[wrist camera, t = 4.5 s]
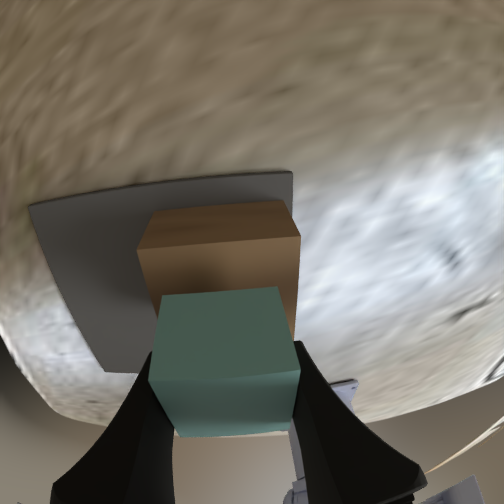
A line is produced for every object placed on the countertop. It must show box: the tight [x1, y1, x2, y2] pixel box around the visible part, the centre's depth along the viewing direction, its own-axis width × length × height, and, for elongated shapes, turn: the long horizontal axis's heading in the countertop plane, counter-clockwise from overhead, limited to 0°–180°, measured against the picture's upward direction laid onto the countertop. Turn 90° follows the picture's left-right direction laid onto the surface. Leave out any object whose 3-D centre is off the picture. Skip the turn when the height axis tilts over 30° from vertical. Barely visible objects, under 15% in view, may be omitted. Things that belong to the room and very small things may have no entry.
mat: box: [28, 171, 293, 373], centre depth 19 cm, size 16×16×1 cm
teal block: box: [148, 286, 301, 437], centre depth 11 cm, size 4×4×4 cm
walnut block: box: [137, 200, 301, 341], centre depth 16 cm, size 7×7×4 cm
